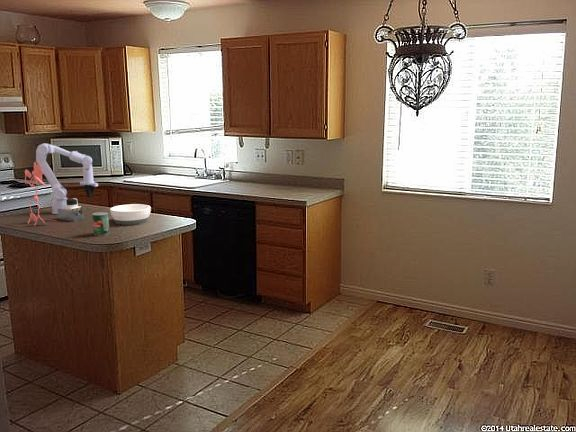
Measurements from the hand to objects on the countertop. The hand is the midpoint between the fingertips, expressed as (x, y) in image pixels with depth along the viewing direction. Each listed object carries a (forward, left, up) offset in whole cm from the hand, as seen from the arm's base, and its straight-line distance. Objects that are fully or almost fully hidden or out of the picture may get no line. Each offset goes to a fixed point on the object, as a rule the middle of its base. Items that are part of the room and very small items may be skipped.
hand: (90, 197), depth 334 cm
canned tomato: (+53, -37, -10) cm, 65 cm away
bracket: (+8, -20, -9) cm, 24 cm away
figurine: (+3, -36, -10) cm, 37 cm away
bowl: (+44, -8, -10) cm, 46 cm away
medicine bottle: (+8, -19, -10) cm, 23 cm away
